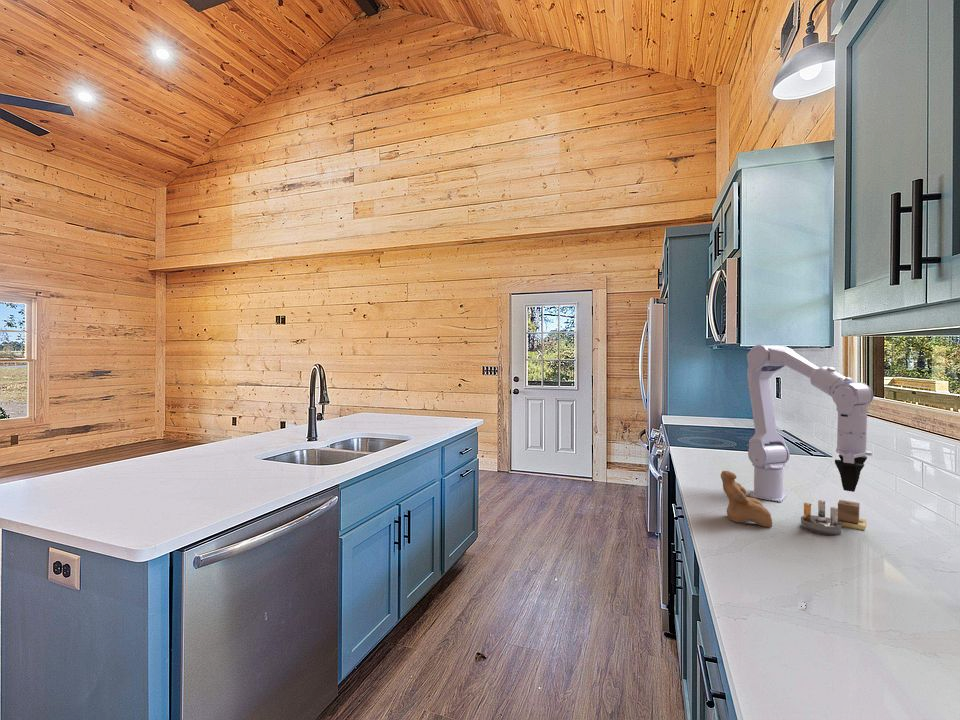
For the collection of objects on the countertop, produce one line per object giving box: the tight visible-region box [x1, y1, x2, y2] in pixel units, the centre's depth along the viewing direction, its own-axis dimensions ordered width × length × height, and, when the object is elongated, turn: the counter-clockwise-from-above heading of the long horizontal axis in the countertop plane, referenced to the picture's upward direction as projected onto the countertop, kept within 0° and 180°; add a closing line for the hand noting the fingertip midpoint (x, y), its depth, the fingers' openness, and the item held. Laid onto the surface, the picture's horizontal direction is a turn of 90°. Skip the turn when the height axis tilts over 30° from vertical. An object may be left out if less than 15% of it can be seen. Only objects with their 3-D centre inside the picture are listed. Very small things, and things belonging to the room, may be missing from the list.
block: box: [837, 499, 860, 523], centre depth 121 cm, size 4×4×4 cm
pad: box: [838, 517, 867, 531], centre depth 121 cm, size 6×6×1 cm
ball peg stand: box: [800, 499, 843, 537], centre depth 117 cm, size 8×8×6 cm
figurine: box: [720, 470, 773, 528], centre depth 124 cm, size 11×9×15 cm
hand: (850, 487), depth 121 cm, fingers open, 7 cm apart
